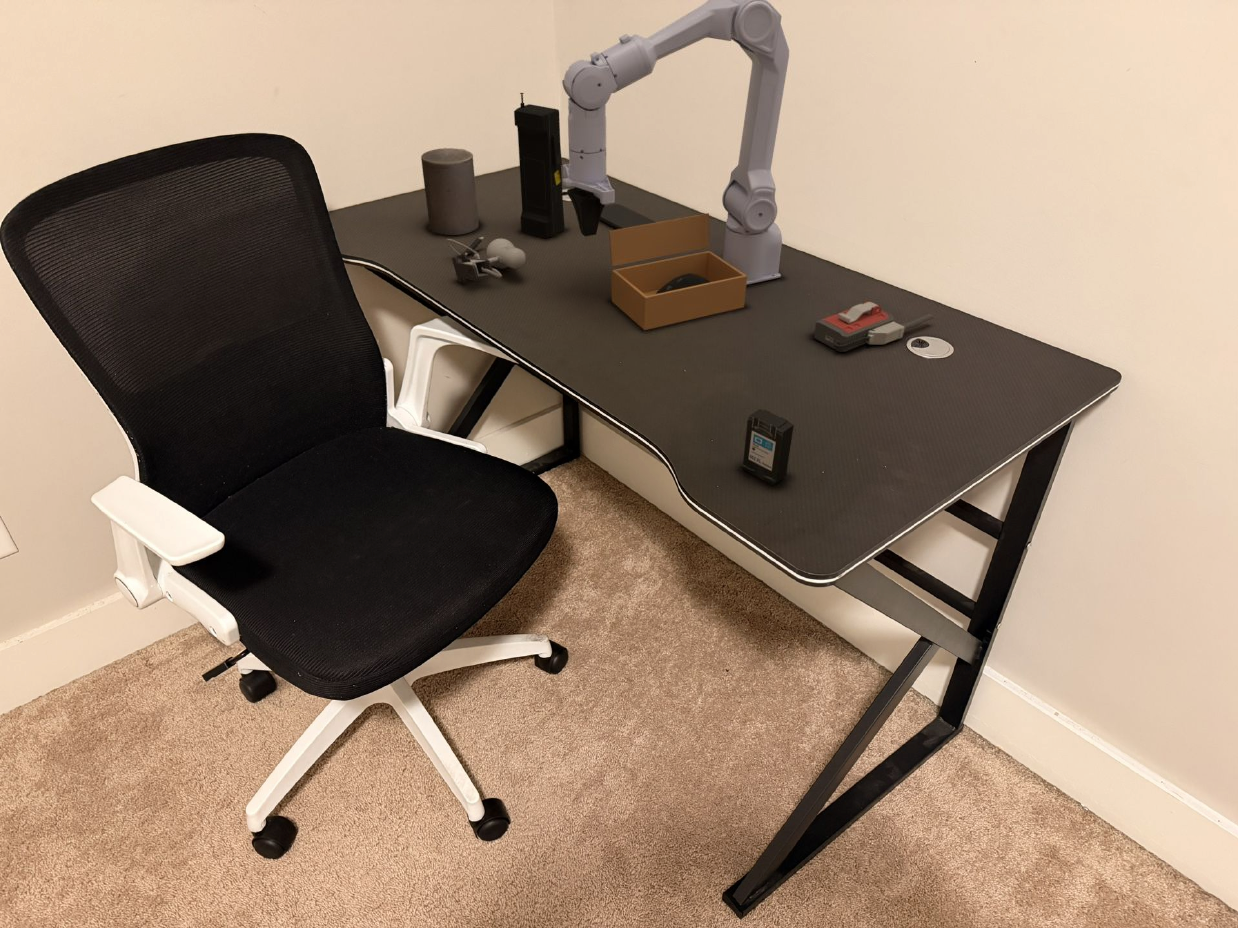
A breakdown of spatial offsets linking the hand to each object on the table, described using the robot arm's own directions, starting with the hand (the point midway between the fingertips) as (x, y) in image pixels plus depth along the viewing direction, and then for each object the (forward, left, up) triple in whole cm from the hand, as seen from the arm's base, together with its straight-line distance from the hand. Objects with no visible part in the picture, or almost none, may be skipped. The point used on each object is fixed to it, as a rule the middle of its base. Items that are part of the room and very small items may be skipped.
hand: (588, 234), depth 140 cm
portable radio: (-4, -29, -10) cm, 31 cm away
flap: (-11, +4, -1) cm, 12 cm away
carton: (-11, +10, -10) cm, 18 cm away
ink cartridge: (+3, +55, -10) cm, 56 cm away
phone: (-20, -27, -10) cm, 35 cm away
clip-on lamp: (+13, -17, -10) cm, 23 cm away
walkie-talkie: (-33, +32, -10) cm, 47 cm away
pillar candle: (+11, -39, -10) cm, 41 cm away
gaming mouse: (-11, +11, -10) cm, 18 cm away
